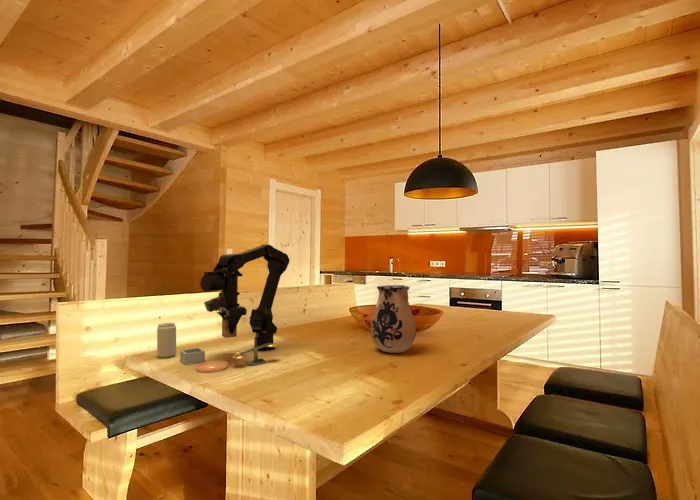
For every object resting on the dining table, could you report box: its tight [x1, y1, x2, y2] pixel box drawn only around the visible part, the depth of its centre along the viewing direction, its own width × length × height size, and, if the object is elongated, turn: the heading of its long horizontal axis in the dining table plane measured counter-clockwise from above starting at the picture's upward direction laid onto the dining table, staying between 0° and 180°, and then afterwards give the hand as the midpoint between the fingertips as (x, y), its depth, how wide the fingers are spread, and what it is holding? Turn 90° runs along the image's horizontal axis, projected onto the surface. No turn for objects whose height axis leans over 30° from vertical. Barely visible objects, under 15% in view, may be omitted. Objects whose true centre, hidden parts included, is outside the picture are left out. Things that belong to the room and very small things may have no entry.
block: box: [221, 318, 238, 339], centre depth 146 cm, size 4×4×6 cm
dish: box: [195, 359, 229, 374], centre depth 133 cm, size 10×10×1 cm
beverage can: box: [156, 322, 177, 359], centre depth 148 cm, size 6×6×12 cm
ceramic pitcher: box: [370, 284, 417, 354], centre depth 158 cm, size 18×21×25 cm
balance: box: [232, 342, 279, 367], centre depth 139 cm, size 16×4×6 cm, turn 125°
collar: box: [179, 347, 206, 365], centre depth 142 cm, size 7×7×4 cm
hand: (229, 332), depth 146 cm, fingers closed on block, 4 cm apart
